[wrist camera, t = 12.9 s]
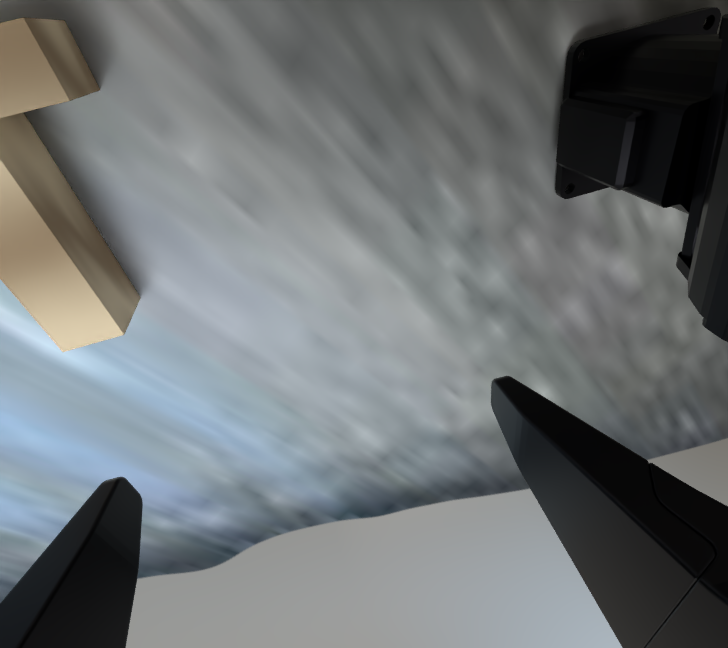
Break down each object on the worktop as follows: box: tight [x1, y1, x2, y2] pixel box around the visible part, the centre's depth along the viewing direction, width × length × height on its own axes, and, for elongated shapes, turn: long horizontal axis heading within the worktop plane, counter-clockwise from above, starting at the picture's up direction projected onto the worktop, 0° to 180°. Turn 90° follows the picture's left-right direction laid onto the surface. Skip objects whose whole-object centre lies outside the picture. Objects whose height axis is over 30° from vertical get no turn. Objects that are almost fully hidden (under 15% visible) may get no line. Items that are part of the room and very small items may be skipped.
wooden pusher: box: [0, 18, 140, 352], centre depth 15 cm, size 10×8×3 cm
